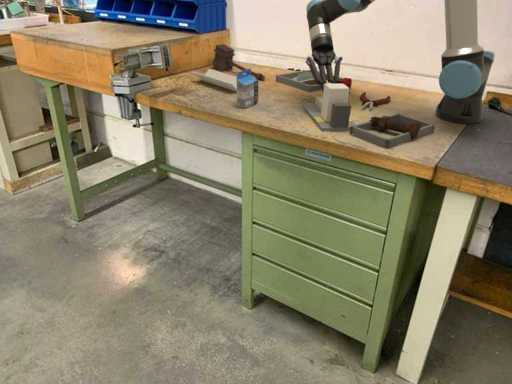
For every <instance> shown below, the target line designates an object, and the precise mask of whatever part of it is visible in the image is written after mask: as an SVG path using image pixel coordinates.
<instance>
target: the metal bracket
mask: <svg viewBox="0 0 512 384" xmlns="http://www.w3.org/2000/svg"><path fill="white" fill-rule="evenodd" d="M319 75H320V73H319ZM292 80H295V81H298V82H302V83H306V82H308V81H309V82H310V81H313V80H314V78H313V75H312V73H311V72H304V73H299V74H298V76H297V77H295V78H293V79H292ZM314 81H315V80H314Z"/></svg>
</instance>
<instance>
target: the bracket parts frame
mask: <svg viewBox="0 0 512 384" xmlns="http://www.w3.org/2000/svg"><path fill="white" fill-rule="evenodd" d="M304 72H311V70H310V69H306V70H301V71H300V70H299V71H295V72H287V73H282V74H276V75H275V82H279V83H281V84H284V85H286V86H290V87H292V88H297V89H299V90H302V91H304V92H308V93H314V92H319V91H322V87H321V85H317V84H316V83H315V84H311V85H310V84H307V83H306V82H298V81H295V80H293V78H295V77H297V76H298V74H299V73H304ZM318 73H319V70H318ZM325 74H326V81H327V82H326V83H328V79H327V72H325ZM333 79H334V75H333ZM342 79H344V78H343V77H341V76H339V80H342Z"/></svg>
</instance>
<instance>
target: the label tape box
mask: <svg viewBox="0 0 512 384" xmlns="http://www.w3.org/2000/svg"><path fill="white" fill-rule="evenodd" d="M246 69H247V70H243V71H242V70H240V71H237V73H236V77H237V92H236V108H241V109H247V108H249V107H252V106H254V105H255V104H258V103H259V80H258V79H257V78H255V77H254V76H252V75H250V72H251V71H252V68H246ZM243 74H244V75H243Z"/></svg>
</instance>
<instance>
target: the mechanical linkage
mask: <svg viewBox="0 0 512 384" xmlns="http://www.w3.org/2000/svg"><path fill="white" fill-rule="evenodd" d="M352 82H353V81H352V78H351V77H350V78H348V77H344V78H343V79H342V80H338V82H337V84H344V85H346V86H347V87H348V88H350V89H349V95H350V93H351V87H352Z"/></svg>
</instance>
